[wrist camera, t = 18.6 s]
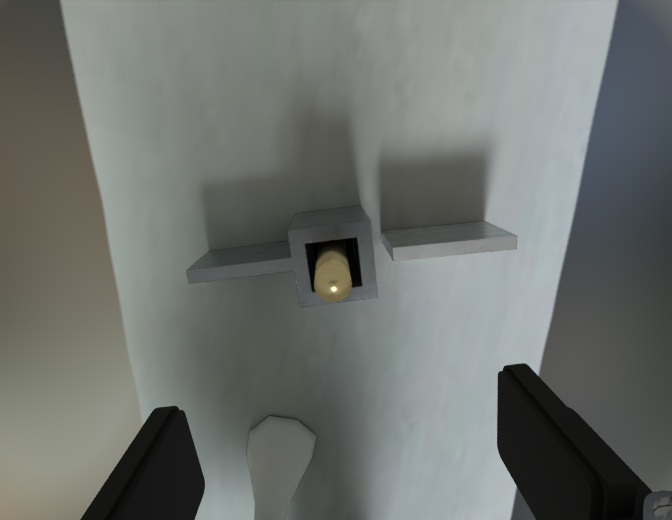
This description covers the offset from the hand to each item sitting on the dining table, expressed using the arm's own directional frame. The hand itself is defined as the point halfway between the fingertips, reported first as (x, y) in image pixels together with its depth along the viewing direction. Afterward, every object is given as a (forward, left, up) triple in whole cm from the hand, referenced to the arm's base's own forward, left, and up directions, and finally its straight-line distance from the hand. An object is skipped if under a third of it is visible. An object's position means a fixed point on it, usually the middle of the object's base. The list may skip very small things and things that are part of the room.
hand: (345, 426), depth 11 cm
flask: (-21, +8, -22) cm, 32 cm away
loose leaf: (0, -9, -22) cm, 24 cm away
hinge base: (0, +4, -22) cm, 22 cm away
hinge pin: (0, 0, -22) cm, 22 cm away
